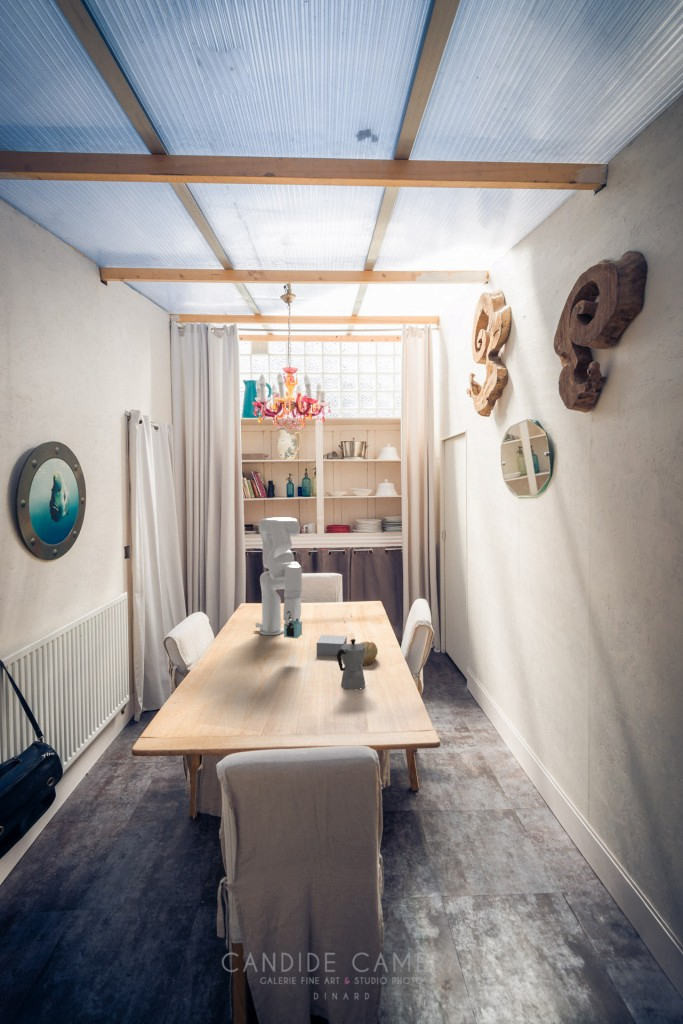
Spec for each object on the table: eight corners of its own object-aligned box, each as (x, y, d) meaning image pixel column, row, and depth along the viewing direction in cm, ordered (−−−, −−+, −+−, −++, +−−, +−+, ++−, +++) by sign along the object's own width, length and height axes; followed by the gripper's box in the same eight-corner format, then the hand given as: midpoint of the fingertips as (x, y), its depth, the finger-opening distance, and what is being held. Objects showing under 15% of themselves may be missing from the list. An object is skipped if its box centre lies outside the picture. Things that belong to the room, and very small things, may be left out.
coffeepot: (355, 677, 212) (355, 633, 210) (373, 683, 205) (373, 637, 204) (328, 688, 200) (328, 641, 199) (346, 695, 194) (346, 647, 193)
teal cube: (284, 637, 231) (284, 623, 230) (289, 632, 236) (289, 619, 236) (297, 638, 229) (297, 624, 228) (301, 634, 235) (301, 620, 234)
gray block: (316, 655, 238) (316, 642, 238) (321, 647, 250) (321, 634, 250) (343, 657, 237) (343, 643, 236) (346, 648, 249) (346, 636, 248)
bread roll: (377, 655, 239) (377, 637, 239) (377, 666, 224) (377, 648, 224) (356, 654, 240) (356, 637, 239) (354, 666, 225) (354, 647, 224)
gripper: (292, 588, 240) (292, 627, 242) (277, 597, 224) (277, 639, 225) (307, 589, 238) (307, 629, 240) (293, 598, 222) (293, 641, 223)
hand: (293, 633), depth 233 cm, fingers closed on teal cube, 6 cm apart
